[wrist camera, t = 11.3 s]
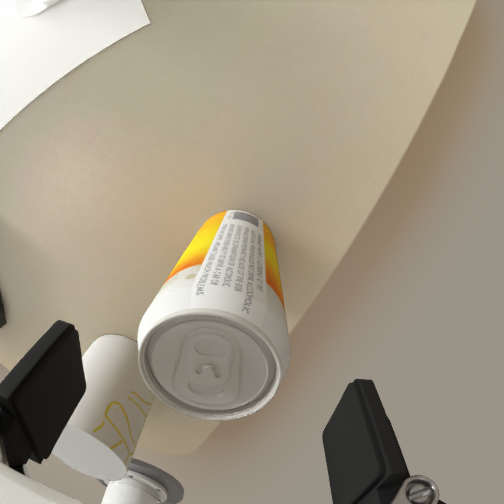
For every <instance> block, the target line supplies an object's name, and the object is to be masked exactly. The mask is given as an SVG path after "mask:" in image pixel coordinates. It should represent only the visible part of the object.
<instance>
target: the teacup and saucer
mask: <svg viewBox="0 0 504 504" xmlns="http://www.w3.org/2000/svg"><path fill="white" fill-rule="evenodd" d="M59 1H60V0H14V4H13V6H14V11H15V13H16V14H17V15H18V16H19V17H21V18H31V17H34V16H36V15H38V14H40V13H42V12H43V11H45V10H46V9H48V8H49V7H50V6H52V5H54V4H56V3H58V2H59Z"/></svg>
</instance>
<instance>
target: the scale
mask: <svg viewBox="0 0 504 504" xmlns="http://www.w3.org/2000/svg"><path fill="white" fill-rule="evenodd" d="M5 324H6V320H5V315H4V310H3V305H2V299H1V294H0V328H1V327H2V326H4V325H5Z"/></svg>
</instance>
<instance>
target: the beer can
mask: <svg viewBox="0 0 504 504" xmlns="http://www.w3.org/2000/svg"><path fill="white" fill-rule="evenodd" d="M137 342H138V350H139V354H138V363H139V369H140V372H141V375H142V377H143V379H144V381H145V383H146V384H147V386H148V387H149V389H150V390H151V391H152V392H153V393H154V394H155V395H156V396H157V397H158V398H159V399H160V400H161V401H162V402H164V403H165V404H166V405H168V406H169V407H171V408H173V409H175V410H177V411H179V412H181V413H183V414H186V415H188V416H192V417H195V418H199V419H205V420H215V421H222V420H233V419H238V418H242V417H245V416H248V415H250V414H253V413H255V412H257V411H258V410H260V409H261V408H263V407H264V406H265V405H267V404H268V403H269V402H270V401H271V399H272V398H273V397H274V395H275V394H276V392H277V390H278V389H279V386H280V383H281V381H282V380H283V378H284V376H285V374H286V372H287V370H288V367H289V363H290V355H291V349H290V343H289V335H288V328H287V321H286V314H285V308H284V301H283V294H282V287H281V281H280V274H279V268H278V261H277V255H276V249H275V242H274V238H273V235H272V233H271V231H270V229H269V228H268V227H267V225H266V224H265V223H264V222H263V221H262V220H261V219H260V218H258V217H257V216H255V215H253V214H251V213H248V212H245V211H240V210H229V211H224V212H220V213H218V214H216V215H214V216H212V217H211V218H210V219H208V220H207V221H206V222H205V223H204V224H203V226H202V227H201V229H200V230H199V231H198V233H197V234H196V236H195V237H194V239H193V240H192V242H191V243H190V245H189V246H188V248H187V249H186V251H185V252H184V254H183V255H182V257H181V258H180V260H179V261H178V263H177V264H176V266H175V267H174V269H173V270H172V272H171V274H170V275H169V277H168V278H167V280H166V281H165V283H164V284H163V286H162V287H161V289H160V291H159V292H158V294H157V295H156V297H155V298H154V300H153V302H152V303H151V305H150V306H149V308H148V310H147V311H146V313H145V314H144V316H143V318H142V320H141V322H140V326H139V329H138V336H137Z"/></svg>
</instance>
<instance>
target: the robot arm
mask: <svg viewBox="0 0 504 504" xmlns="http://www.w3.org/2000/svg"><path fill="white" fill-rule="evenodd" d="M85 391H86V380H85V374H84V368H83V362H82V356H81V349H80V342H79V334H78V331H77V330H75V327H74V325H72V324H70V323H67V322H64V321H61V320H58V321H56V322H55V323H54V324H53V325H52V327H51V328H50V329H49V330H48V331H47V332H46V333H45V334H44V335H43V336H42V337H41V338H40V339H39V340H38V341H37V343H36V344H35V345H34V346H33V347H32V348H31V349H30V350H29V351H28V352H27V353H26V355H25V356H24V357H23V358H22V359H21V360H20V361H19V362H18V364H17V365H16V366H15V367H14V368H13V369H12V370H11V372H10V373H9V374H8V375H7V376H6V377H5V379H4V380H3V381H2V382H1V384H0V504H85V503H82V502H80V501H77V500H75V499H73V498H70V497H68V496H66V495H63V494H61V493H59V492H57V491H55V490H53V489H50V488H48V487H46V486H44V485H42V484H40V483H38V482H36V481H34V480H32V479H30V478H29V475H28V471H27V467H26V463H27V461H28V459H31V460H33V461H35V462H37V463H39V464H41V462H42V460H43V459H47V458H48V457H49V456H50V454H51V452H52V450H53V448H54V446H55V444H56V443H57V441H58V439H59V437H60V435H61V434H62V432H63V430H64V428H65V426H66V425H67V423H68V421H69V419H70V418H71V416H72V414H73V412H74V411H75V409H76V407H77V406H78V404H79V402H80V400H81V399H82V397H83V395H84V394H85ZM323 445H324V451H325V456H326V462H327V468H328V474H329V481H330V487H331V494H332V500H333V504H446V503H444V502H442V501H440V500H439V489H438V487H437V485H436V484H435V483H434V482H433V481H432V480H431V479H429V478H428V477H425V476H422V475H414V476H410V474H409V471H408V469H407V466H406V463H405V460H404V458H403V455H402V452H401V449H400V446H399V444H398V441H397V438H396V436H395V433H394V430H393V428H392V425H391V423H390V420H389V419H388V417H387V416H386V413H385V410H384V408H383V405H382V403H381V400H380V398H379V395H378V393H377V390H376V388H375V385H374V383H373V381H372V380H364V379H355V380H354V382H353V383H349V384H348V386H347V388H346V390H345V392H344V394H343V396H342V398H341V400H340V402H339V403H338V405H337V407H336V409H335V411H334V413H333V415H332V416H331V418H330V420H329V422H328V424H327V425H326V427H325V429H324V431H323ZM104 482H105V483H106V484H107V485H108V486H107V489H106V492H105V494H104V497H103V500H102V503H101V504H157V503H162V502H164V501H166V499H167V496H168V492H167V490H166V489H165V488H164V487H163V486H162V485H161V484H160V483H158V482H157V481H155V480H153V479H151V478H149V477H147V476H145V475H143V474H140V473H137V472H134V471H131V470H128V471H127V474H126V476H125V477H124V478H123V479H121V480H117V481H108V480H104Z"/></svg>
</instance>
